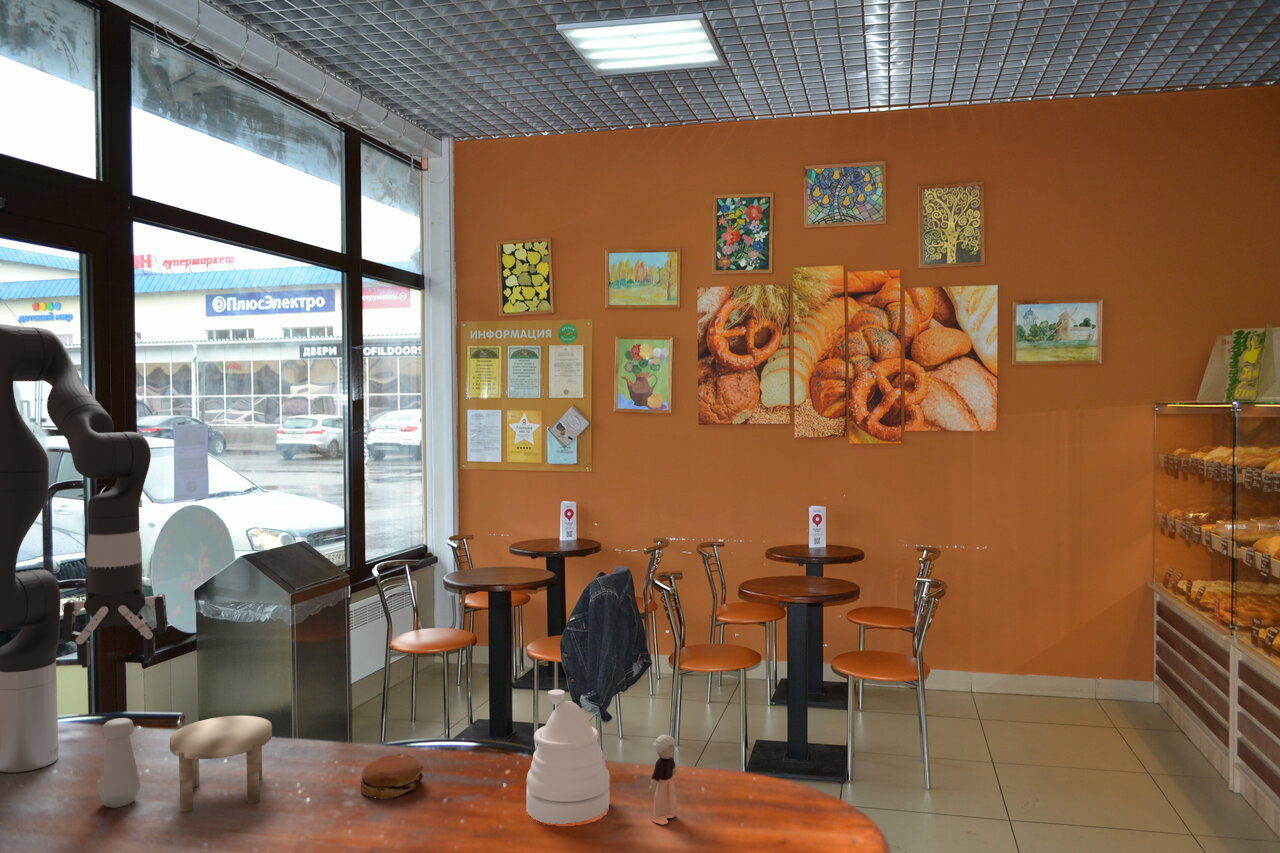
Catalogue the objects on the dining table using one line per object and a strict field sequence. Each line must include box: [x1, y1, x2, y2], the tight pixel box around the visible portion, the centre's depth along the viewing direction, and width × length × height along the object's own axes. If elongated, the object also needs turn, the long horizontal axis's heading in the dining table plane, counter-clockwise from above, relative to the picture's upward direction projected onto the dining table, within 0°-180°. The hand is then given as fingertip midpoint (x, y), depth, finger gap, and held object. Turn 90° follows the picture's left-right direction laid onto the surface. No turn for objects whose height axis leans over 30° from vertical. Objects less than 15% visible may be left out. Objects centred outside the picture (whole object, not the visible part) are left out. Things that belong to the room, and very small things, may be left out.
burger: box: [360, 753, 425, 799], centre depth 157 cm, size 10×9×5 cm
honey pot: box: [525, 689, 611, 824], centre depth 149 cm, size 13×13×18 cm
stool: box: [169, 715, 273, 813], centre depth 155 cm, size 15×15×10 cm
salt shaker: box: [98, 717, 141, 809], centre depth 152 cm, size 6×6×13 cm
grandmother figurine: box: [648, 734, 678, 817], centre depth 146 cm, size 8×4×13 cm, turn 163°
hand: (116, 663), depth 151 cm, fingers open, 8 cm apart
